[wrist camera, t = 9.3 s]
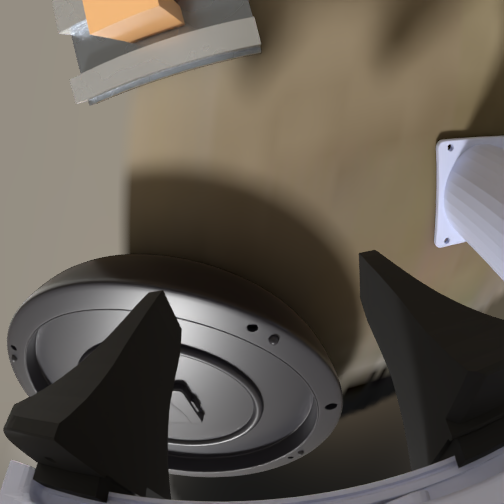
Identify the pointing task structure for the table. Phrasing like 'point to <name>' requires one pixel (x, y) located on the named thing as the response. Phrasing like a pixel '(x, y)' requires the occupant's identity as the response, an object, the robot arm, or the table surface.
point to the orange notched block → (131, 18)
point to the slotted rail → (156, 46)
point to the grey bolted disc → (193, 358)
